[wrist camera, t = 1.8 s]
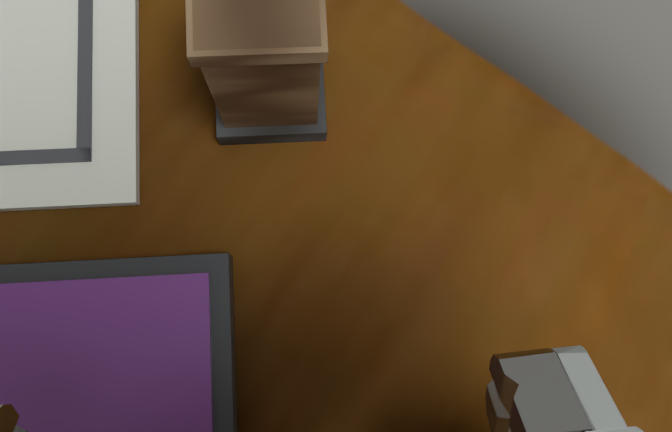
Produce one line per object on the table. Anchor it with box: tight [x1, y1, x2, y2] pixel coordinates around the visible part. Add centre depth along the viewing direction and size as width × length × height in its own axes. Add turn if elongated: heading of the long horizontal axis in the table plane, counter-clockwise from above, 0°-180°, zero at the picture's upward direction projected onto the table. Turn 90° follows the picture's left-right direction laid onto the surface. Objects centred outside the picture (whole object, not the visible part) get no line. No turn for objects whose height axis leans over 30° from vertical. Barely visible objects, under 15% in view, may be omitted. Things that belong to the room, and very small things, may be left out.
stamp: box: [186, 0, 328, 145], centre depth 24 cm, size 5×5×9 cm
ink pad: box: [0, 253, 238, 432], centre depth 25 cm, size 12×9×2 cm
